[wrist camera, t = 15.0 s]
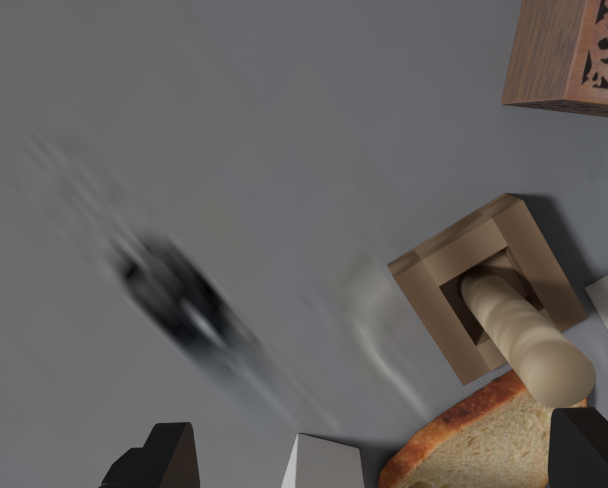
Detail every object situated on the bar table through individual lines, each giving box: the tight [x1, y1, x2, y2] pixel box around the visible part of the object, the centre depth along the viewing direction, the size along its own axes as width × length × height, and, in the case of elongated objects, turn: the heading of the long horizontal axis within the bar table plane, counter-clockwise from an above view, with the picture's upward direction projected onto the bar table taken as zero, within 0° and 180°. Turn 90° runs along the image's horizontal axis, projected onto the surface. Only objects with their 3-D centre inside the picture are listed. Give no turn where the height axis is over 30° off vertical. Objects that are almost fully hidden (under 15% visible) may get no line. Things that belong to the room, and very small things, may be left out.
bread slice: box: [378, 369, 588, 488], centre depth 44 cm, size 18×18×4 cm
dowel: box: [457, 265, 596, 408], centre depth 34 cm, size 4×4×15 cm
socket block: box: [388, 193, 588, 386], centre depth 40 cm, size 11×11×4 cm
